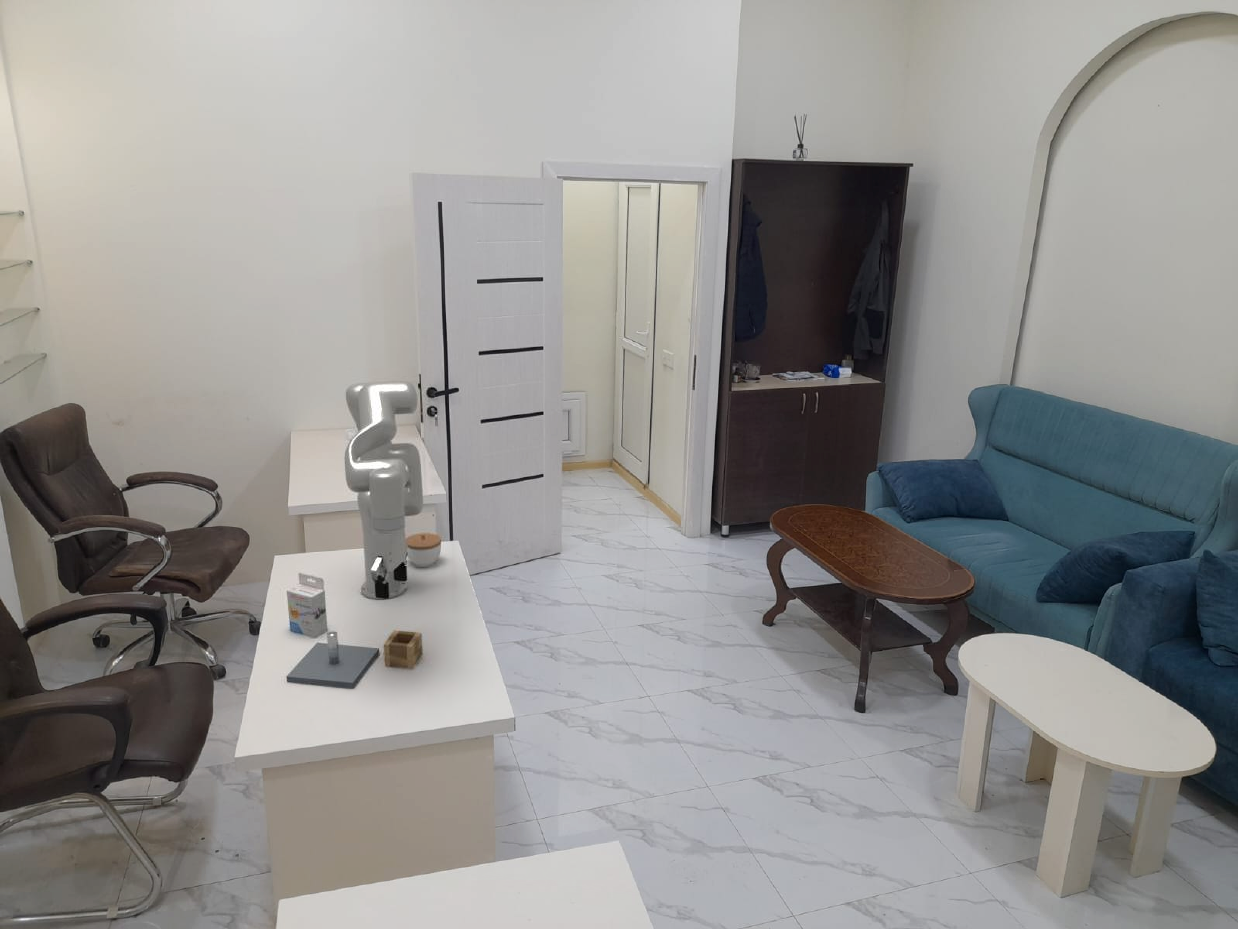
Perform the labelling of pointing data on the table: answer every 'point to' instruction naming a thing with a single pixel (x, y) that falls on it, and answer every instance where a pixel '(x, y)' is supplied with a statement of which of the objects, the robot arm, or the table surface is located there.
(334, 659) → the metal post
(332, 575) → the table surface
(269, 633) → the table surface
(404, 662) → the oak frame
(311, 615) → the ink box
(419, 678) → the table surface
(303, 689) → the table surface
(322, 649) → the slate board
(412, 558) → the lidded jar
